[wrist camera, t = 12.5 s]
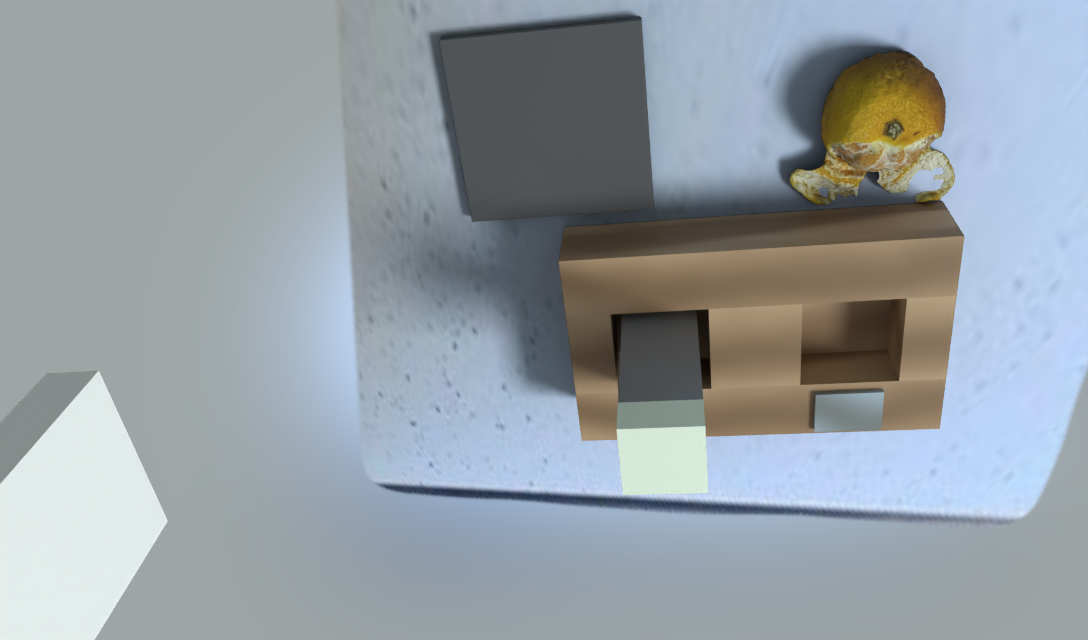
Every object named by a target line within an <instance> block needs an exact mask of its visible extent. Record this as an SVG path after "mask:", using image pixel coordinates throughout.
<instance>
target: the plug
mask: <svg viewBox="0 0 1088 640" xmlns="http://www.w3.org/2000/svg"><path fill="white" fill-rule="evenodd" d="M616 430H617V439H618V449H619V458H620V468H621V477H622V487H623V495H636V494H676V493H708V478H707V453H706V429H705V415H704V402H703V389H702V377H701V364H700V351H699V339H698V326H697V313H696V310H684V311H665V312H647V313H628V314H622V328H621V348H620V368H619V389H618V409H617V429H616Z"/></svg>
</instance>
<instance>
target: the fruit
mask: <svg viewBox="0 0 1088 640" xmlns="http://www.w3.org/2000/svg"><path fill="white" fill-rule="evenodd" d="M945 107H946V105H945V98H944V95H943V92H942V88H941V87H940V85H939V82H938V80H937V79H936V78H935V74H934V73H933V72H931V71H930V70H928V69H927V68H925V67H924V66H923V64H922V62H921V61H919V60H918V59H917V58H916V57H915V56H914V55H912V54H910V53H909V52H906V51H897V52H887V53H885V54H881V53H880V54H875V55H873V56H872V57H871V58H865V59H863V60H862V61H860V62H859V63H857V64H855V65H852V66H850V67H848V68H846V69H845V70H844V71H843V72H842V73H841V74H840V76H839V77H838V78H837V79H836V81H835V83H834V87H833V88H832V89H831V90H830V91H829V95H828V96H827V98H826V102H825V105H824V109H823V113H822V114H823V116H822V119H821V125H822V129H821V135H822V136H821V137H822V140H823V142H824V145H825V147H826V149H827V152H826V157H825V161H824V164H823V165H822V167H820V168H818V169H816V170H812V171H805V170H803V169H796V170H795V171H794V172H792V173H791V176H790V183H791V185H792V187H793V188H795V189H796V190H797V191H798V192H800V193H802V195H803V196H804V197H805V198H806V199H808V200H809V201H811V202H813V203H815V204H817V205H818V204H819V205H829V204H830V203H831V202H832V201H834V200H835V199H836V197H837V194H840V195H842V196H843V197H848V196H849V195H854V196H858V189H859V184H860V182H861V180H862V179H863V178H864V177H865V174H866V173H867V171H869V172H877V171H878V172H879V180H877V181H876V182H878V183H879V184H880V185H881V186H882V187H883V188H884V189H885V190H887V191H890V192H891V193H902V192H906V191H907V189H908V187H909V181H910V180H911V179H912V177H913V176H914V175H915V174H916V173H917V172H918V171H919V170H924V169H926V170H930V171H932V170H933V168H939V167H943V170H944V172H943V174H942V175H935V176H934V179H943V180H944V182H943V183H942V186H941V188H940V189H938V190H935V191H927V192H921V193H919V194H917V195H915V200H916V202H918V203H923V202H928V201H932V200H940V198H941V197H942V196H943V195H945V194H946V193H947V192H948V190H949V189H950V188H951V187H952V186H953V184H954V179H955V175H954V170H953V168H952V166H951V164H950V163H949V159H948V158H947V157H946V156H945V154H944V153H940V152H939V151H933V150H931V149H930V147H929V146H930V144H931V143H932V142H933V141H934V140H935V139H937V138H939V137H941V135H942V132H943V130H944V123H945ZM821 187H825V188H827V189H828V197H827V198H824V197H822V196H821V195H820V192H819V188H821Z"/></svg>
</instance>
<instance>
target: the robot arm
mask: <svg viewBox="0 0 1088 640" xmlns="http://www.w3.org/2000/svg"><path fill="white" fill-rule="evenodd" d="M166 523H167V519H166V516H165V514H164V512H163V510H162V508H161V506H160V503H159V502H158V499H157V497H156V495H155V493H154V491H153V488H152V486H151V484H150V482H149V479H148V477H147V475H146V473H145V471H144V469H143V466H142V464H141V462H140V460H139V458H138V455H137V453H136V451H135V449H134V447H133V445H132V442H131V440H130V438H129V436H128V434H127V431H126V429H125V427H124V425H123V423H122V421H121V419H120V416H119V414H118V412H117V410H116V407H115V405H114V403H113V401H112V399H111V397H110V394H109V392H108V390H107V388H106V386H105V384H104V382H103V379H102V377H101V375H100V373H99V371H85V372H65V373H47V374H46V375H45V376H44V377H43V378H42V379H41V380H40V381H39V382H38V383H37V384H36V385H35V386H34V387H33V389H32V390H31V391H30V392H29V393H28V394H27V395H26V396H25V397H24V398H23V399H22V400H21V401H20V402H19V403H18V404H17V405H16V406H15V407H14V409H13V410H12V411H11V412H10V413H9V414H8V415H7V416H6V417H5V418H4V419H3V420H2V421H1V422H0V640H95V638H96V636H97V635H98V633H99V631H100V630H101V628H102V626H103V625H104V623H105V622H106V620H107V618H108V617H109V615H110V614H111V612H112V610H113V609H114V607H115V606H116V604H117V602H118V600H119V599H120V598H121V596H122V594H123V593H124V591H125V589H126V588H127V586H128V585H129V583H130V581H131V580H132V578H133V576H134V575H135V573H136V572H137V570H138V568H139V567H140V565H141V563H142V562H143V560H144V558H145V557H146V555H147V554H148V552H149V550H150V549H151V547H152V545H153V544H154V542H155V541H156V539H157V537H158V536H159V534H160V532H161V531H162V529H163V528H164V526H165V524H166Z"/></svg>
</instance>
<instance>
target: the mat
mask: <svg viewBox="0 0 1088 640" xmlns="http://www.w3.org/2000/svg"><path fill="white" fill-rule="evenodd" d="M439 42H440V47H441V53H442V58H443V64H444V69H445V75H446V80H447V86H448V91H449V97H450V102H451V108H452V113H453V119H454V124H455V130H456V135H457V141H458V146H459V152H460V157H461V163H462V168H463V174H464V179H465V185H466V190H467V196H468V202H469V207H470V213H471V218H472V222H476V221H490V220H505V219H519V218H533V217H547V216H562V215H576V214H590V213H605V212H619V211H633V210H647V209H654V200H653V185H652V170H651V155H650V140H649V125H648V110H647V95H646V80H645V65H644V50H643V35H642V20H641V17H638V18H628V19H618V20H608V21H598V22H588V23H578V24H568V25H558V26H548V27H539V28H529V29H519V30H509V31H499V32H489V33H479V34H469V35H459V36H449V37H441V39H440V40H439Z"/></svg>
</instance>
